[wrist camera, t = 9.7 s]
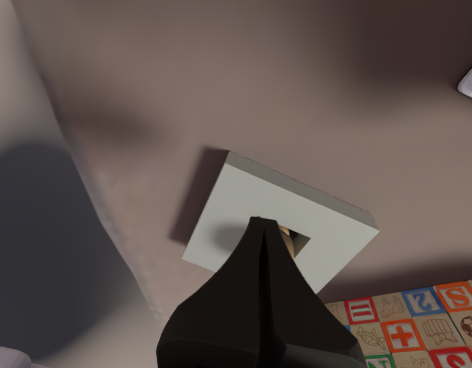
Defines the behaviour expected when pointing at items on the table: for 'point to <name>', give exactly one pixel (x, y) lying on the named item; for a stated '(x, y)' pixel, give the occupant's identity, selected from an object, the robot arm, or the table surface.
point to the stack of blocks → (412, 326)
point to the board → (278, 220)
